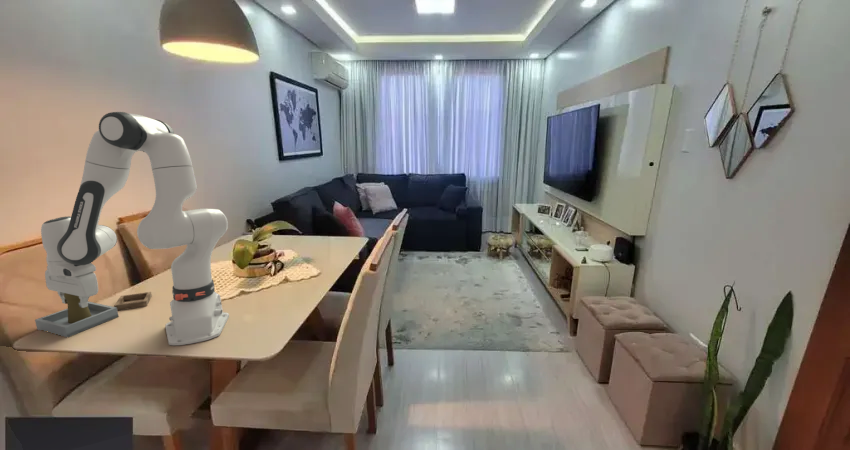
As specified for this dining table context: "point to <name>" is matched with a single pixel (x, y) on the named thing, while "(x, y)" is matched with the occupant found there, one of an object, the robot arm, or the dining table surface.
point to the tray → (61, 326)
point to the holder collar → (122, 306)
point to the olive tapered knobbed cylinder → (75, 309)
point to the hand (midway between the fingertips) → (75, 304)
